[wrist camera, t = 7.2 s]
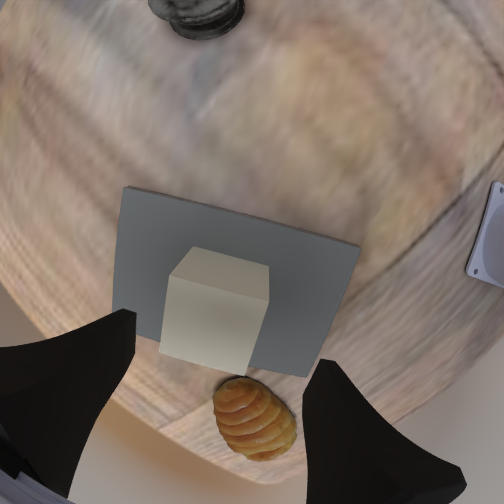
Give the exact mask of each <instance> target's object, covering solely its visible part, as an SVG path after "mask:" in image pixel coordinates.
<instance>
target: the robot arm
mask: <svg viewBox="0 0 504 504" xmlns="http://www.w3.org/2000/svg"><path fill="white" fill-rule="evenodd" d="M500 188H501V191H500ZM475 269H476V270H475ZM474 270H475V272H474ZM466 274H468V275H469V276H471V277H474V278H477V279H480V280H483V281H485V282H488V283H491V284H493V285H496V286H499V287H501V288H504V185H503V184H501V183H500V182H497V181H495V182H493V184H492V188H491V192H490V196H489V200H488V204H487V207H486V211H485V214H484V218H483V221H482V224H481V228H480V231H479V234H478V237H477V240H476V243H475V245H474V248H473V251H472V254H471V257H470V259H469V262H468V264H467V267H466ZM136 320H137V313H136V312H133V311H130V310H127V309H124V308H122V309H120V310H117V311H115V312H113V313H111V314H109V315H107V316H105V317H103V318H100V319H98V320H96V321H94V322H92V323H90V324H87V325H85V326H83V327H80V328H78V329H75V330H73V331H70V332H68V333H65V334H63V335H60V336H57V337H53V338H50V339H46V340H43V341H39V342H35V343H29V344H24V345H18V346H10V347H0V504H75V503H73V502H71V501H69V500H67V498H68V495H69V491H70V487H71V484H72V480H73V477H74V474H75V471H76V468H77V465H78V462H79V459H80V457H81V454H82V451H83V449H84V446H85V444H86V442H87V439H88V437H89V434H90V432H91V430H92V428H93V426H94V424H95V421H96V419H97V417H98V416H99V414H100V412H101V410H102V409H103V407H104V406H105V404H106V403H107V401H108V399H109V398H110V397H111V395H112V393H113V392H114V390H115V389H116V387H117V386H118V384H119V383H120V381H121V380H122V378H123V376H124V375H125V373H126V371H127V369H128V367H129V365H130V363H131V361H132V359H133V357H134V354H135V342H136ZM302 419H303V428H304V437H305V446H306V454H307V466H308V482H307V500H306V504H449V503H450V502H452V501H453V500H454V499H456V498H457V497H458V496H459V495H460V494H461V493H462V492H463V491H464V490H465V488H466V486H467V483H466V481H465V478H464V476H463V473H462V471H461V469H460V467H458V466H456V465H454V464H451V463H449V462H447V461H444V460H442V459H440V458H438V457H436V456H434V455H432V454H431V453H429V452H427V451H425V450H423V449H422V448H420V447H419V446H417V445H416V444H414V443H413V442H412V441H410V440H409V439H407V438H406V437H405V436H403V435H402V434H401V433H400V432H398V431H397V430H396V429H395V428H394V427H393V426H392V425H390V424H389V423H388V422H387V421H386V420H385V419H384V418H383V417H382V416H381V415H380V414H379V413H378V412H377V411H376V410H375V409H374V408H373V407H372V406H371V405H370V403H369V402H368V401H367V400H366V399H365V398H364V396H363V395H362V394H361V393H360V392H359V390H358V389H357V388H356V387H355V385H354V384H353V383H352V382H351V380H350V379H349V378H348V376H347V375H346V374H345V373H344V371H343V370H342V369H341V368H340V366H339V365H338V364H337V363H336V362H335V361H332V360H326V359H320V361H319V363H318V365H317V367H316V369H315V371H314V373H313V375H312V377H311V379H310V381H309V383H308V385H307V387H306V389H305V391H304V393H303V402H302Z"/></svg>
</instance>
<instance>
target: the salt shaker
mask: <svg viewBox="0 0 504 504" xmlns="http://www.w3.org/2000/svg"><path fill="white" fill-rule="evenodd" d="M148 5H149V7H150V8H151V10H152V12H153V13H154V14H155V15H157V16H158V17H159V18H161V19H163V20H166V21H169V22H170V25H171V26H172V28H173V30H174V31H175V32H177V33H178V34H179V35H181V36H183V37H185V38H188V39H194V40H206V39H211V38H215V37H218V36H221V35H223V34H225V33H227V32H228V31H230V30H231V29H232V28H234V27H235V26H236V25H237V24H238V23H239V21H240V20H241V18H242V16H243V14H244V9H245V3H244V0H148Z"/></svg>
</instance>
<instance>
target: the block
mask: <svg viewBox="0 0 504 504" xmlns="http://www.w3.org/2000/svg"><path fill="white" fill-rule="evenodd" d="M268 304H269V266H267V265H263V264H259V263H255V262H252V261H248V260H244V259H240V258H236V257H233V256H229V255H225V254H221V253H217V252H214V251H210V250H206V249H202V248H199V247H195V246H193V247H192V248H191V250H190V251H189V252H188V253H187V254H186V256H185V257H184V258H183V259H182V260H181V262H180V263H179V264H178V265H177V266H176V268H175V269H174V270H173V271H172V273H171V274H170V275H169V281H168V287H167V294H166V301H165V308H164V316H163V324H162V332H161V341H160V350H159V353H161V354H165V355H168V356H171V357H174V358H178V359H181V360H184V361H188V362H191V363H195V364H198V365H202V366H206V367H209V368H213V369H217V370H221V371H225V372H229V373H233V374H237V375H242V376H245V373H246V370H247V367H248V364H249V361H250V358H251V355H252V352H253V349H254V346H255V343H256V340H257V337H258V334H259V331H260V328H261V325H262V322H263V319H264V316H265V313H266V310H267V307H268Z"/></svg>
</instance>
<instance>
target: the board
mask: <svg viewBox="0 0 504 504" xmlns="http://www.w3.org/2000/svg"><path fill="white" fill-rule="evenodd" d="M193 246H195V247H199V248H202V249H206V250H210V251H214V252H217V253H221V254H225V255H229V256H233V257H236V258H240V259H244V260H248V261H252V262H255V263H259V264H263V265H267V266H269V304H268V307H267V310H266V313H265V316H264V319H263V322H262V325H261V328H260V331H259V334H258V337H257V340H256V343H255V346H254V349H253V352H252V355H251V358H250V361H249V364H248V366H250V367H254V368H259V369H264V370H269V371H273V372H279V373H284V374H289V375H295V376H300V377H306V378H307V376H308V374H309V372H310V370H311V368H312V366H313V364H314V362H315V360H316V357H317V355H318V353H319V351H320V349H321V347H322V344H323V342H324V340H325V338H326V336H327V333H328V331H329V329H330V326H331V324H332V322H333V320H334V317H335V315H336V312H337V310H338V308H339V305H340V303H341V300H342V298H343V295H344V293H345V290H346V288H347V285H348V283H349V280H350V278H351V275H352V272H353V270H354V267H355V264H356V262H357V259H358V256H359V253H360V251H361V248H360V247H359V246H358V245H355V244H352V243H348V242H345V241H341V240H338V239H335V238H331V237H328V236H324V235H321V234H317V233H314V232H310V231H306V230H303V229H299V228H296V227H292V226H288V225H285V224H281V223H277V222H273V221H270V220H266V219H262V218H258V217H255V216H251V215H247V214H243V213H239V212H235V211H231V210H227V209H223V208H219V207H215V206H211V205H207V204H203V203H199V202H195V201H191V200H187V199H183V198H178V197H174V196H170V195H166V194H161V193H157V192H152V191H148V190H144V189H139V188H135V187H130V186H128V187H124V188H123V194H122V201H121V208H120V216H119V224H118V232H117V242H116V252H115V265H114V280H113V302H112V313H113V312H115V311H117V310H120V309H122V308H124V309H127V310H130V311H133V312H136V313H137V320H136V334H137V335H140V336H143V337H145V338H149V339H152V340H155V341H158V342H160V341H161V332H162V324H163V316H164V308H165V301H166V294H167V287H168V281H169V275H170V274H171V273H172V271H173V270H174V269H175V268H176V266H177V265H178V264H179V263H180V262H181V260H182V259H183V258H184V257H185V256H186V254H187V253H188V252H189V251H190V250H191V248H192V247H193Z"/></svg>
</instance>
